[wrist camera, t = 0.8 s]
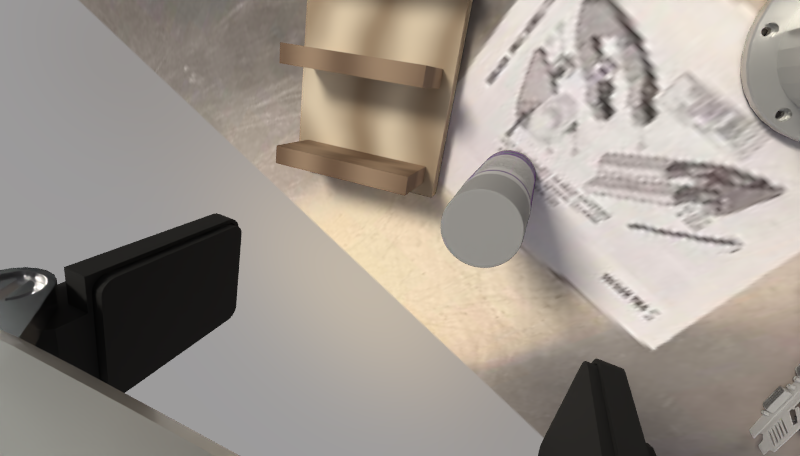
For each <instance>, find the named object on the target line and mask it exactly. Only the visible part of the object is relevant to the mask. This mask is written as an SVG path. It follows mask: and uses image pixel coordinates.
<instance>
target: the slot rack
mask: <svg viewBox="0 0 800 456" xmlns="http://www.w3.org/2000/svg"><path fill="white" fill-rule="evenodd" d="M472 2H473V0H307V14H306V32H305V46H300V45H294V44H287V43H281V42H280V63H282V64H288V65H294V66H300V67H303V84H302V102H301V120H300V137H299V142H294V143H288V144H283V145H278V146H277V150H276V163H278V164H282V165H286V166H290V167H294V168H298V169H302V170H306V171H310V172H314V173H318V174H322V175H326V176H330V177H334V178H338V179H342V180H346V181H350V182H354V183H358V184H362V185H366V186H370V187H373V188H377V189H381V190H385V191H389V192H393V193H397V194H401V195H406V194H408V193H409V192H411V193H415V194H419V195H423V196H427V197H432V196H434V195H435V194H436V189H437V184H438V179H439V173H440V168H441V163H442V158H443V153H444V147H445V142H446V137H447V132H448V127H449V121H450V116H451V111H452V106H453V101H454V95H455V90H456V85H457V80H458V75H459V69H460V64H461V59H462V54H463V49H464V43H465V38H466V33H467V28H468V23H469V17H470V12H471V7H472Z"/></svg>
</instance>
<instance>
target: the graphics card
mask: <svg viewBox="0 0 800 456" xmlns="http://www.w3.org/2000/svg"><path fill="white" fill-rule="evenodd" d="M795 370H796V373H797V376H795V377H794V378H793V380H794V381H795V382H794V383H793V384H787V386H786V387H787V388H788V389H787V388H784V387H781V386H779V387H778V388H777V389H776V390H775V391H774V392H773V393H772V394H771V395H770V396H769V397H768V398H767V399H766V401H765V402H764V403H763V406H764V408H765V409H766V410H767V411H765V410H762V411H761V413H762V414H763V415H762V416H761V418H760V419H759V420H758V421H757V422H756V423H755V424H754V425H753V426H752V427H751V429H750V430H749V431H750V433H751V435H752V437H753V438H755V437H756V436H757V435H758V434H759V433H760V434H763V441H762V442H761V443H760V444H759V445H758V446H759V448H760V450H761V452H762V453H763V455H765V454H766V453H767V452H768V451H769V450H770V451H773V452H776V451H777V450H778V449H779V448H780V447H781V446H782V445H783V444H784V443H785V442H786V441H787V440H788V439H789V438H790V437H792V436H793V435H794V434H795V433H796V432H797V431H798V430H800V408H799V407H797V408H795V406H796V405H797V404H798V403H799V402H800V364H799V365H798V366H797V367H796V368H795ZM791 409H793V410H794V409H795V412H796V416H795V420H792V419H791V416H790V412H789V411H790V410H791ZM781 420H783V422H784V424H785V427H786V429H787V431H788V433H786V431H785V429H784V426H783V424H782V421H781ZM792 421H794V422H795V423H796V424H795V425H793V423H792ZM778 423H779V424H780V426H781V428H782V430H783V433H784V435H785V436H784V437H783V434H782V432H781V430H780V427H779V424H778ZM775 426H776V427H777V429H778V431H779V434H780V436H781V438H782V439H781V440H780V438H779V435H778V433H777V430H776V428H775ZM772 428H773V430H774V432H775V434H776V437H777V439H778V443H777V441H776V439H775V436H774V434H773V431H772ZM769 431H770V433H771V435H772V438H773V440H774V443H775V446H774V444H773V442H772V439H771V437H770V434H769Z"/></svg>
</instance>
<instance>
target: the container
mask: <svg viewBox="0 0 800 456" xmlns="http://www.w3.org/2000/svg"><path fill="white" fill-rule="evenodd" d="M535 180H536V173H535V169H534V166H533V164H532V162H531V161H530V160H529V159H528V158H527V157H526V156H525V155H523V154H522V153H520V152H517V151H512V150H506V151H501V152H498V153H495V154H494V155H492V156H491V157H490V158H488V159H487V160H486V161H485V162H484V164H483V165H482V166H481V167H480V168H479V169H478V170H477V171H476V172H475V173H474V174H473V175H472V176H471V177H470V178H469V179H468V180H467V181H466V182H465V183H464V185H463V186H462V187H461V189H460V190H459V191H458V192H457V194H456V195H455V196H454V198H453V199H452V200H451V201H450V203H449V204H448V205H447V207H446V208H445V210H444V212H443V215H442V219H441V234H442V238H443V241H444V243H445V245H446V247H447V248H448V250H449V251H450V252H451V253H452V254H453V255H454V256H455V257H456V258H457V259H459V260H460V261H462V262H463V263H465V264H468V265H471V266H474V267H480V268H489V267H495V266H498V265H501V264H503V263H505V262H507V261H508V260H509V259H511V258H512V257H513V256H514V255H515V254H516V253H517V251H518V250H519V248H520V246H521V244H522V241H523V237H524V234H525V230H526V226H527V223H528V219H529V216H530V211H531V205H532V199H533V193H534V186H535Z"/></svg>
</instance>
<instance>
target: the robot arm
mask: <svg viewBox="0 0 800 456" xmlns="http://www.w3.org/2000/svg"><path fill="white" fill-rule="evenodd" d="M763 28H766V29H767V30H768V33H767V34H766V35H765V36H762V34H761V31H762V29H763ZM741 79H742V85H743V90H744V93H745V96H746V98H747V100H748V102H749V104H750V107H751V108H752V109H753V111H754V112H755V113H756V114H757V116H758V117H759V118H760V119H761V121H763V122H764V123H765V124H767V125H768V126H769V127H770V128H772V129H773V130H774V131H776V132H778V133H780V134H782V135H784V136H786V137H788V138H790V139H792V140H796V141H799V142H800V0H767V2H766V3H765V5H764V6H763V8H762V9H761V10H760V12H759V13H758V15H757V16H756V18H755V20H754V22H753V25H752V27H751V29H750V31H749V33H748V35H747V38H746V42H745V45H744V49H743V53H742V59H741ZM778 111H780V112H781V115H780V117H778V118H775V114H776V113H777V112H778ZM240 245H241V229H240V228H239V227H238V223H237V222H236V221H235V220H233V219H230V218H228V217H225V216H222V215H220V214H217V213H216V214H212V215H209V216H206V217H204V218H201V219H198V220H195V221H192V222H190V223H187V224H184V225H181V226H178V227H176V228H173V229H170V230H167V231H164V232H161V233H159V234H156V235H153V236H150V237H147V238H145V239H142V240H139V241H136V242H133V243H131V244H128V245H125V246H122V247H120V248H117V249H114V250H111V251H108V252H106V253H103V254H100V255H97V256H94V257H92V258H89V259H86V260H83V261H80V262H78V263H75V264H72V265H69V266H66V267H64V271H65V280H66V281H65V282H63V283H60V284H58V285H57V279H56V277H55V275H54V274H52V273H51V272H49V271H47V270H43V269H39V268H28V267H23V268H9V269H4V270H0V456H239V455H237V454H235V453H234V452H232V451H230V450H228V449H226V448H224V447H223V446H221V445H219V444H217V443H215V442H214V441H212V440H210V439H208V438H206V437H204V436H203V435H201V434H199V433H197V432H195V431H193V430H191V429H189V428H188V427H186V426H184V425H182V424H181V423H179V422H177V421H175V420H173V419H171V418H169V417H167V416H165V415H164V414H162V413H160V412H158V411H157V410H155V409H153V408H151V407H149V406H147V405H145V404H144V403H142V402H140V401H138V400H136V399H134V398H132V397H131V396H129V395H127V394H125V392H126V391H128V390H129V389H131V388H132V387H134V386H135V385H136V384H138V383H139V382H141V381H142V380H143V379H145V378H146V377H148V376H149V375H150V374H152V373H153V372H155V371H156V370H158V369H159V368H160V367H162V366H163V365H165V364H166V363H167V362H169V361H170V360H172V359H173V358H175V357H176V356H177V355H179V354H180V353H182V352H183V351H184V350H186V349H187V348H189V347H190V346H192V345H193V344H194V343H196V342H197V341H199V340H200V339H201V338H203V337H204V336H206V335H207V334H208V333H210V332H211V331H213V330H214V329H215V328H217V327H218V326H220V325H221V324H222V323H224V322H226V321H227V320H228V319H229V318H231V316H232V315H233V313H234V311H235V308H236V300H237V285H238V273H239V258H240ZM538 456H656V453H655V451H654V449H653V447H651V446H650V445H649V444H648V443H646V442H645V439H644V435H643V432H642V428H641V425H640V422H639V418H638V415H637V411H636V408H635V404H634V401H633V397H632V394H631V390H630V387H629V384H628V380H627V377H626V373H625V371H624V369H622V368H620V367H617V366H615V365H612V364H610V363H607V362H604V361H602V360H599V359H595V360H594V361H593V362H592V363H589V362H587V361H584V362H583V363H582V365H581V367H580V369H579V370H578V372H577V374H576V376H575V378H574V380H573V382H572V384H571V386H570V388H569V390H568V392H567V394H566V396H565V398H564V400H563V402H562V404H561V406H560V408H559V410H558V412H557V414H556V416H555V418H554V420H553V422H552V423H551V425H550V427H549V429H548V431H547V433H546V435H545V437H544V439H543V441H542V443H541V446H540V450H539V454H538Z"/></svg>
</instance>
